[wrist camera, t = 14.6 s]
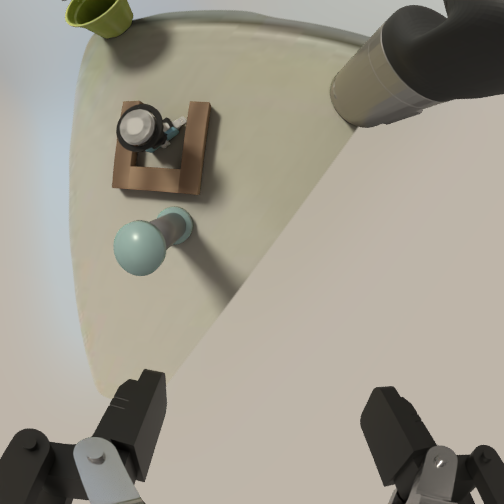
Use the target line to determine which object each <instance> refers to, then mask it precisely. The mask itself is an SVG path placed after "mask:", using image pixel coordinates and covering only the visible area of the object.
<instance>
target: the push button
mask: <svg viewBox="0 0 504 504" xmlns="http://www.w3.org/2000/svg"><path fill="white" fill-rule="evenodd" d="M149 112H151V113H152V114H153V115H154V116H155V117H153V116H152V115H151V114H150V113H149ZM180 119H181V120H180ZM181 121H182V122H181ZM183 122H184V123H183ZM186 122H187V120H186V119H185V118H184V117H183V116H182V117H180V118H179V119H177V120H174V121H172V122H171V121H170V119H169V118H165V119H164V120H162V117H161V115H160V113H159V111H158V110H157V109H155V108H154V107H153V106H151V105H148V104H138V105H134V106H132V107H130V108H129V109H127V110H126V111H125V112H124V113H123V115H122V116H121V117H120V119H119V121H118V124H117V132H116V133H117V138H118V141H119V143H120V144H121V146H122V147H124V148H125V149H126V150H129V151H132V152H142V151H145V150H146V151H147V152H150V153H152V152H154V151H155V150H156V149H158V148H159V147H160V146H161V147H162V148H166V147H167V146H169V145H170V144H171V143H169V142H168V141H169V140H170V139H171V138H173V137H174V136H176V135H177V134H178V133H179V131H178V129H179V128H181V126H182V125H183V124H185V123H186ZM139 144H140V145H142V146H134V145H139ZM166 145H167V146H166Z"/></svg>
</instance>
